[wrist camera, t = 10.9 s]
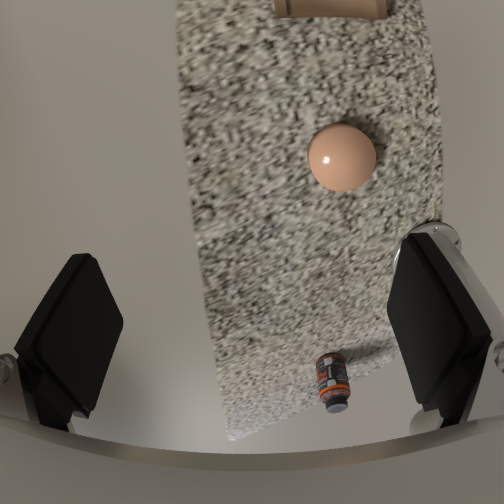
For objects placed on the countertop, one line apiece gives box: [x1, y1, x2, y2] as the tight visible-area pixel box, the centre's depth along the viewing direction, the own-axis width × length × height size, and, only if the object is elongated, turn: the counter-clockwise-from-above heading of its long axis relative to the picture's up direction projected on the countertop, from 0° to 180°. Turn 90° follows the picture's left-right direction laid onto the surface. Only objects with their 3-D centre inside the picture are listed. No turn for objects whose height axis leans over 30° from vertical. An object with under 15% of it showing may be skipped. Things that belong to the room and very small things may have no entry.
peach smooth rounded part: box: [307, 123, 376, 191], centre depth 36 cm, size 8×8×2 cm
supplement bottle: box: [316, 354, 350, 413], centre depth 56 cm, size 6×6×11 cm
